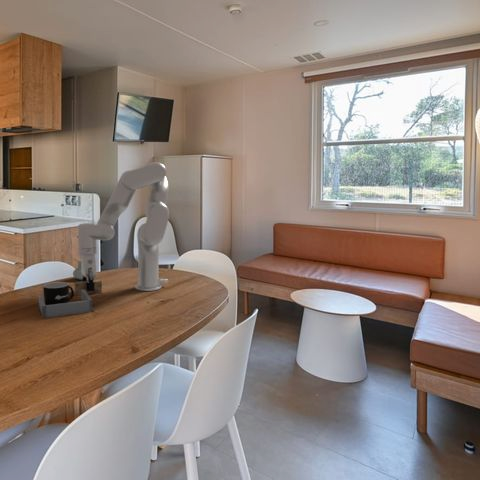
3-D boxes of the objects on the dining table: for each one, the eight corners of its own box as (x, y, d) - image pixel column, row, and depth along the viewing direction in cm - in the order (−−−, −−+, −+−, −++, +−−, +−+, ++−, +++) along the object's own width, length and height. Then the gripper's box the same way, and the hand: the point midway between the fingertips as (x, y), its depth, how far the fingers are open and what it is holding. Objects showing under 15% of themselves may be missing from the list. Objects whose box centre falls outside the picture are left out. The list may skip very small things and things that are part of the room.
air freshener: (91, 275, 202) (91, 257, 200) (98, 278, 196) (97, 260, 195) (70, 278, 194) (70, 259, 193) (77, 282, 189) (76, 262, 187)
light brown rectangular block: (100, 291, 175) (99, 279, 175) (101, 292, 172) (101, 281, 172) (74, 293, 170) (74, 282, 169) (75, 295, 167) (75, 283, 166)
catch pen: (84, 299, 162) (84, 289, 161) (92, 311, 147) (92, 300, 147) (38, 305, 153) (38, 294, 152) (42, 318, 138) (42, 306, 138)
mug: (53, 315, 142) (52, 289, 141) (39, 310, 146) (38, 285, 145) (80, 306, 152) (80, 282, 151) (66, 302, 157) (65, 279, 155)
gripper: (100, 253, 163) (101, 292, 166) (92, 247, 177) (93, 282, 180) (82, 255, 159) (83, 294, 162) (75, 248, 173) (76, 284, 176)
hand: (88, 288), depth 171 cm, fingers open, 9 cm apart
